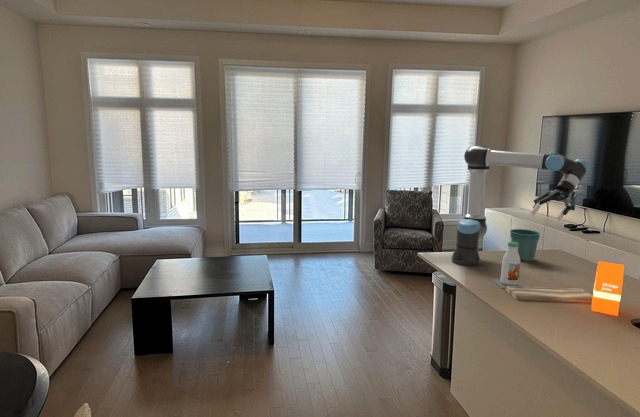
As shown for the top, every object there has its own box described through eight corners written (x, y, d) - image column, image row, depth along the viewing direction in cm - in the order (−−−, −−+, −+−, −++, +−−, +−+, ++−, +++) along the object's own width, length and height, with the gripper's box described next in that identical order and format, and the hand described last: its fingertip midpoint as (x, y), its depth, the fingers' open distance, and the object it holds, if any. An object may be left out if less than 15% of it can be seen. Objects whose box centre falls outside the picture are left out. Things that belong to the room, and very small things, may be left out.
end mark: (491, 279, 206) (491, 279, 206) (515, 280, 206) (516, 280, 206) (501, 288, 194) (501, 287, 194) (527, 289, 194) (527, 288, 194)
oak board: (505, 290, 192) (505, 285, 192) (580, 292, 192) (580, 288, 191) (516, 299, 180) (517, 295, 180) (596, 302, 180) (597, 298, 180)
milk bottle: (500, 284, 198) (504, 243, 195) (499, 279, 205) (504, 239, 202) (518, 287, 195) (523, 245, 192) (517, 282, 202) (522, 241, 199)
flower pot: (511, 261, 240) (514, 233, 238) (503, 253, 256) (506, 228, 254) (541, 263, 238) (545, 235, 235) (532, 255, 254) (535, 229, 251)
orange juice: (617, 316, 166) (625, 267, 163) (591, 310, 171) (598, 263, 168) (616, 309, 173) (623, 262, 170) (591, 304, 178) (597, 258, 174)
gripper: (595, 193, 201) (573, 226, 196) (546, 187, 222) (524, 217, 218) (590, 182, 197) (567, 215, 193) (541, 177, 219) (519, 207, 214)
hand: (544, 216), depth 205 cm, fingers open, 13 cm apart
